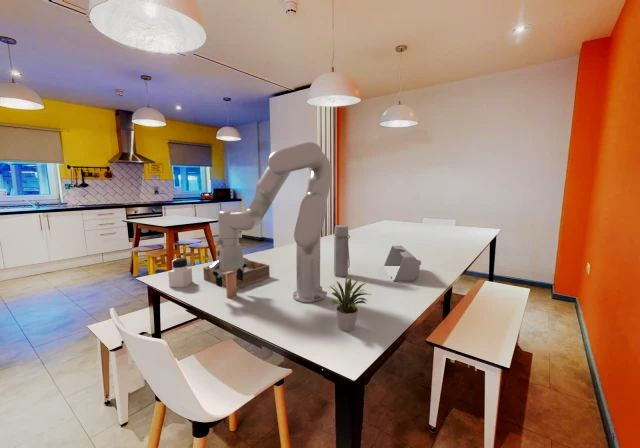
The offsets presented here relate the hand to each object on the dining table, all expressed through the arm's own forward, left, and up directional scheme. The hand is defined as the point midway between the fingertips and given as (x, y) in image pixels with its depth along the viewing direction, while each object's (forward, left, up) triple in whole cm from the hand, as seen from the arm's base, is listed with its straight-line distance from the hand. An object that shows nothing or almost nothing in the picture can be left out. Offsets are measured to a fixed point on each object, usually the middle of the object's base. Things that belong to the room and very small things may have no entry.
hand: (229, 282), depth 115 cm
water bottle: (-21, -50, -6) cm, 55 cm away
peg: (0, 0, -6) cm, 6 cm away
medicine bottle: (+30, +6, -6) cm, 31 cm away
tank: (-45, -72, -6) cm, 85 cm away
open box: (+17, -15, -6) cm, 23 cm away
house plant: (-51, -6, -6) cm, 52 cm away
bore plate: (+17, -15, -6) cm, 23 cm away
